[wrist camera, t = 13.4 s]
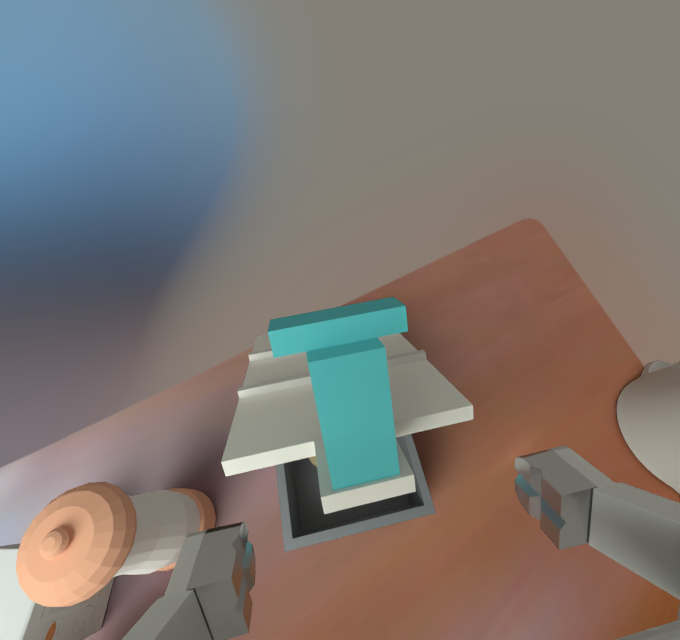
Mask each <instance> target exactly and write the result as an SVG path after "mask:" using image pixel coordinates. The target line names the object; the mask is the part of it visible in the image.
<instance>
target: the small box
mask: <svg viewBox="0 0 680 640" xmlns="http://www.w3.org/2000/svg"><path fill="white" fill-rule="evenodd" d="M19 547H20V544H13V545H6V546H0V640H83V639H84V638H86V637H88V636H90V635H92V634H94V633H96V632H97V631H99V630H100V629H101V627H102V623H103V619H104V615H105V611H106V607H107V604H108V600H109V596H110V592H111V589H112V585H113V581H114V577H113V578H112V579H111V581H110V582H109V583H108V584H107V585H105V586H104V587H103V588H102V589H100V590H99V591H98V592H96V593H95V594H94V595H93V596H91V597H90V598H89V599H86V600H84V601H81V602H79V603H77V604H74V605H72V606H65V607H46V606H43V605H40V604H38V603H36V602H33V601H31V600H30V599H29V598H28V596H27V595H26V594H25V592H24V591H23V590H22V589H21V587H20V585H19V581H18V577H17V573H16V561H17V552H18V549H19Z"/></svg>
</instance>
